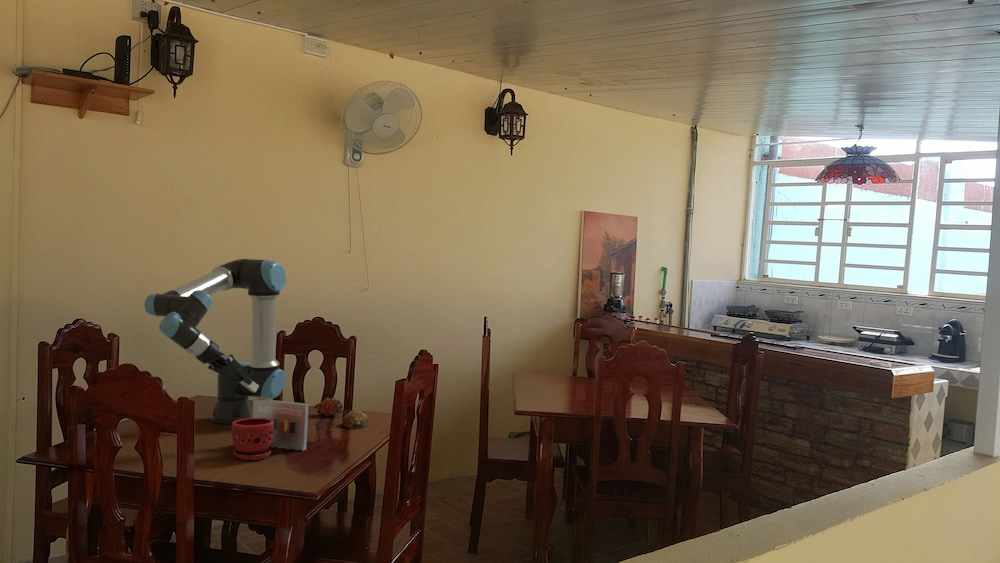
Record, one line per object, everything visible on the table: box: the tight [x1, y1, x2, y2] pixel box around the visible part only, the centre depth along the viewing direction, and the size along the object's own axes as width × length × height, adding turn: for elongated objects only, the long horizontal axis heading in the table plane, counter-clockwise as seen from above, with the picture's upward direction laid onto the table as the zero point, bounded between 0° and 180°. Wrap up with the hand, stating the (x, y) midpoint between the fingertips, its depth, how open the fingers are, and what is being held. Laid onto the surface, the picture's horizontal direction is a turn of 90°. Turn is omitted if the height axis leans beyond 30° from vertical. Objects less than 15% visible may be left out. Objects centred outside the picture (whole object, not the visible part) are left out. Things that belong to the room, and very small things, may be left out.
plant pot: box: [231, 418, 274, 461], centre depth 237 cm, size 13×13×12 cm
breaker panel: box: [252, 397, 309, 452], centre depth 250 cm, size 20×3×16 cm, turn 78°
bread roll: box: [343, 409, 369, 429], centre depth 289 cm, size 10×10×8 cm
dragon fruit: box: [313, 396, 344, 418], centre depth 303 cm, size 8×8×12 cm
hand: (256, 389), depth 250 cm, fingers closed
